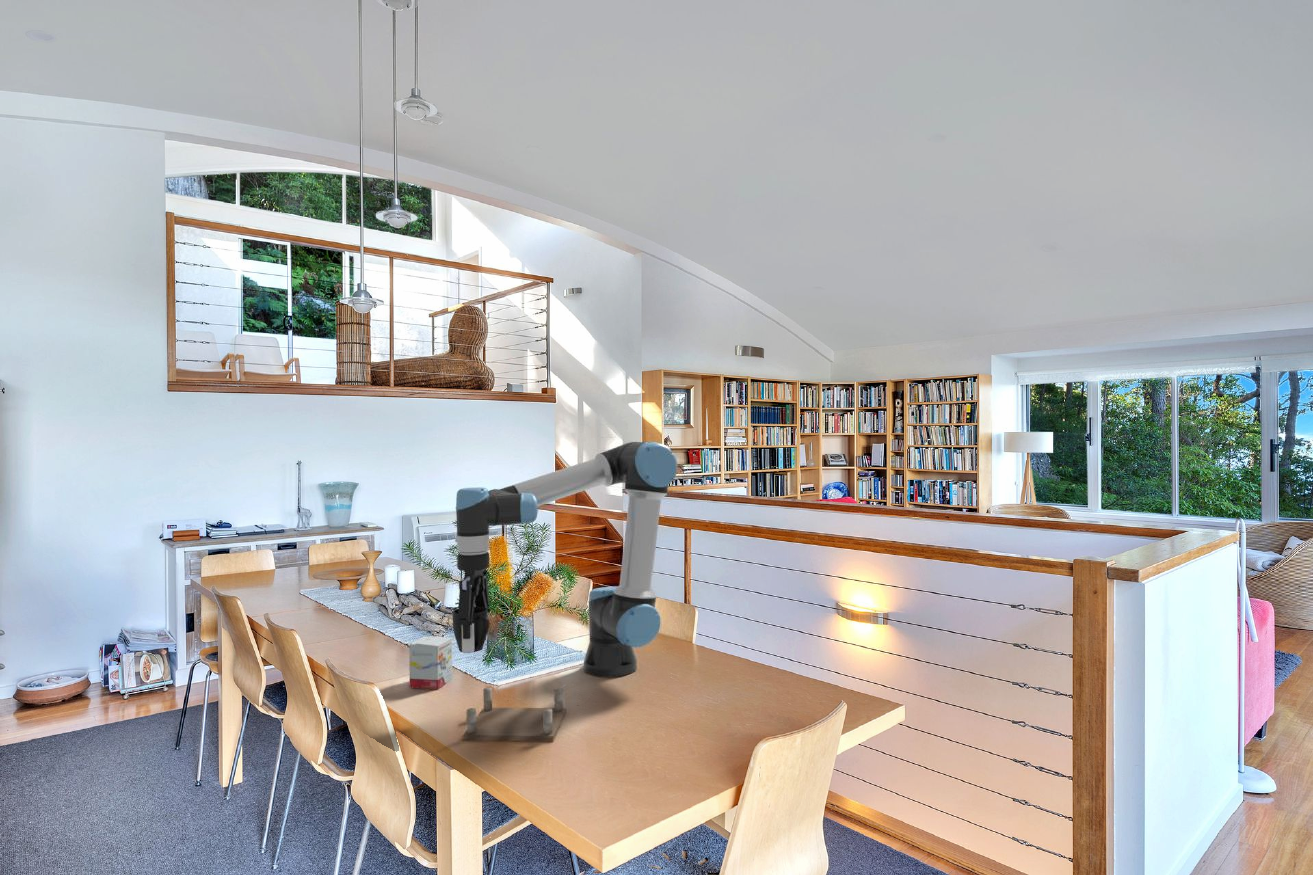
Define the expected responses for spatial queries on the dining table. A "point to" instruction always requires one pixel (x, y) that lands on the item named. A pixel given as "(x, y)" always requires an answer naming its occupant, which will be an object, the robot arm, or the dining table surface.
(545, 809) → the dining table surface
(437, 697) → the dining table surface
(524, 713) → the brown board with pegs
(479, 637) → the mug
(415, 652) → the ink box
